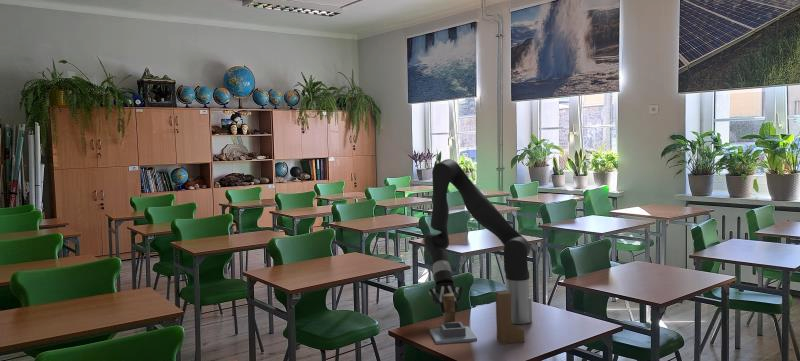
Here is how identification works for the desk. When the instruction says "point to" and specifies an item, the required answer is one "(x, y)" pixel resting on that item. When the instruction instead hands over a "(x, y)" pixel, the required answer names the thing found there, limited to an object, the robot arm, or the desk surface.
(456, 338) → the socket board
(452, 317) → the walnut peg
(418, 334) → the desk surface
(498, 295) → the wooden block
